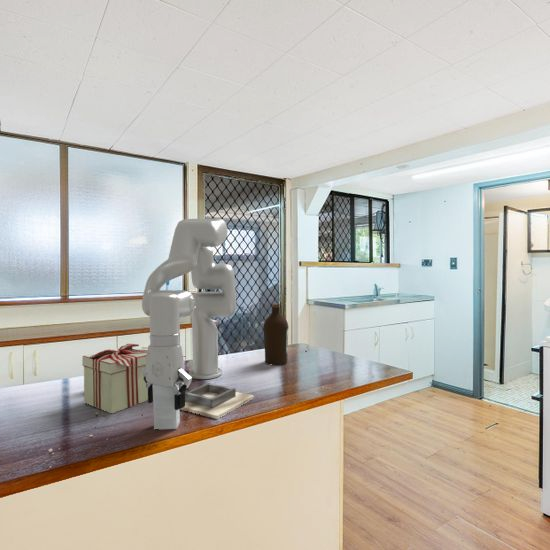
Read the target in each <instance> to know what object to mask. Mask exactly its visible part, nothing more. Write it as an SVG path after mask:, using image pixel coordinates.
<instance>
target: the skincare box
mask: <svg viewBox="0 0 550 550" xmlns="http://www.w3.org/2000/svg"><path fill="white" fill-rule="evenodd" d="M176 382H177V381H176ZM152 386H153V402H152V410H153V411H152V412H153V430H155V429H159V430H176V429H178V427H179V425H180V424H181V423H180V422H181V419H180V418H181V416H180V411H181V410H180V409H179V410H175V406H174V395H175V394H176V392H175V390H174V389H173V387H164V386H160V385H156V384H153V385H152ZM177 386H178V387H179V388H180V386H179V385H177ZM155 431H156V430H155Z"/></svg>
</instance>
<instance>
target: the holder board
mask: <svg viewBox="0 0 550 550" xmlns="http://www.w3.org/2000/svg"><path fill="white" fill-rule="evenodd" d="M236 390H237V389H236V388H233V387H230V386H224V385H220V384H216V383H215V384H214V383H210V382H208V383H205V384H203V385H200V386H198V387H195V388H193V389H192V390H189V391H187V392H185V407H183V408H181V409H179V410H180V411H185V412H187V411H188V413H191V412H192V414H195V413H196V415H199V414H200V415H199V416H202V417H207V418H210V417H211V418H212V419H214V420H219V419H221V418H222V416H223V417H224V416H226V415H228V414H230V413H231V412H233V411H235V410H237V409H239V408H241V407H242V406H243V404H244V405H245V404H247V403H248V402H251V401H252V400H254V399H255V396H254V395H253V394H249V393H243V392H240V391H236ZM250 400H251V401H250ZM241 405H242V406H241ZM236 408H237V409H236ZM229 412H230V413H229ZM227 413H228V414H227ZM220 417H221V418H220ZM211 418H210V419H211Z"/></svg>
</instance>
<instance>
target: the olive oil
mask: <svg viewBox="0 0 550 550" xmlns="http://www.w3.org/2000/svg"><path fill="white" fill-rule="evenodd" d="M271 305H272V306H271V313H270V314H269V316H267V318H265V320H264V323H263V339H264V340H263V341H264V342H263V343H264V362H266V363H268V364H267V365H269V364H272V365H271V366H281V365H280V364H283V365H286V364H287V363H288V351H289V350H288V349H289V348H288V347H289V346H288V345H289V323H288V321H287V319H286V318H285V317H284V316H283V315H282V313H281V312H280V311H281V310H280V309H281V308H280V303H272V304H271ZM266 363H265V364H266ZM285 363H286V364H285Z"/></svg>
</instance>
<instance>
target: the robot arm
mask: <svg viewBox="0 0 550 550" xmlns="http://www.w3.org/2000/svg"><path fill="white" fill-rule="evenodd" d="M227 237H228V225H227V223H226V221H225V220H224V219H222V218H186V219H182V220H180V221H178V222H177V224H176V226H175V228H174V233H173V236H172V242H171V244H170V249H169V254H168V257H167V259H166V260H165V261H163V262H162V263H161V264H160V265H158V266H157V267H156V268H155V269H154V270H153V271H152V272H151V274H150V275H149V276H148V278H147V281H146V284H145V287H144V290H143V293H142V301H141V308H142V311H143V313H144V314H145V316H148V317H149V345H148V347H147V349H146V350H147V357H146V367H145V368H144V369H142V370H141V371H142V374H143V377H144V381H145V383H146V387H147V388H148V401H147V403H148V404H153V386H152V385H153V384H156V385H160V386H164V387H173V389H174V390H175V392H176V394H175V395H174V406H175V410H180V409H181V408H183V407H185V393H187V392H188V389H190V387H191V386H190V385H191V384H192V381H193V379H195V380H209V379H214V378H218V377H220V376H222V374H223V370H222V369H221V368H219V337H218V336H219V335H218V334H219V331H218V327H217V325H216V323H215V321H214V320H213V319H212V318H229V317H233V316H234V315H235V314H236V310H237V299H236V298H237V297H236V295H237V294H236V293H237V292H236V277H235V269H234V268H233V267H232V265H230V264H228V263H215V261H214V249H213V248H216V247H219V246H221V245H222V244H223V243H225V241H226V239H227ZM188 273H190V274H191V275H190V276H191V283H192V285H193V287H194V288H195V289H198V290H220V291H198V292H195V293H194V294H193V293H192V292H190V291H187V290H184V289H183V290H176V289H175V290H171V289H170V290H168V289H165V290H164V289H163V290H161V288H162V287H164V285H165V284H166V283H169V282H170V281H172V280H174V279H177V278H179V277H182V276H185V275H186V274H188ZM188 316H190V317H191V328H192V329H191V332H192V334H191V335H192V336H191V337H192V360H188V362H187V363H186V364H185V362H184V361H185V360H184V354H183V348H182V346H181V329H180V328H181V327H180V326H181V325H180V322H181V321H180V318H185V317H188ZM185 366H186V367H187V368H190V370H189V372H186V371H185ZM176 381H177V382H176ZM177 385H179V387H178V386H177Z"/></svg>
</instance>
